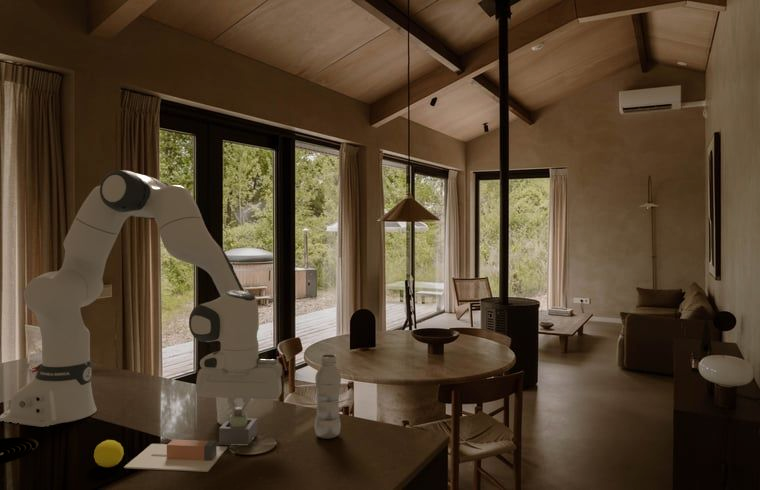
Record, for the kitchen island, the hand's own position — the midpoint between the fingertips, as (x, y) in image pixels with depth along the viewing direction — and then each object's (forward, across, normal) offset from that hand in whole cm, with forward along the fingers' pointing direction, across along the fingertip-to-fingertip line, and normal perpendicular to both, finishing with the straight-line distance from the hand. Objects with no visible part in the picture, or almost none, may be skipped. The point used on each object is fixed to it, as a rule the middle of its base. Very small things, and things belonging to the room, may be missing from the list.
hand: (239, 415), depth 127 cm
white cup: (+6, +6, -12) cm, 15 cm away
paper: (+6, +10, +11) cm, 16 cm away
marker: (+6, +7, +11) cm, 14 cm away
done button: (+5, 0, 0) cm, 5 cm away
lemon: (+6, +23, +16) cm, 29 cm away
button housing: (+6, 0, 0) cm, 6 cm away
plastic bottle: (+6, -21, -4) cm, 22 cm away
